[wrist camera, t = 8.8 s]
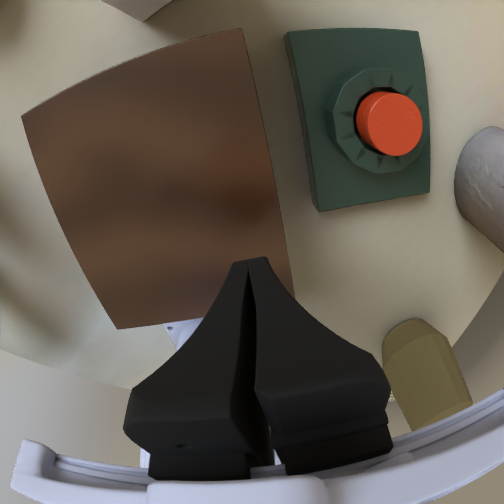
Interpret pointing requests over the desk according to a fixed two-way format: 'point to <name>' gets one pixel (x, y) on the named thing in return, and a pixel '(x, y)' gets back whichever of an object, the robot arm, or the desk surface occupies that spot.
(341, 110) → the button block
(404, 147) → the button
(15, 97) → the desk surface
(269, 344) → the robot arm
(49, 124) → the lid
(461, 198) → the pillar candle
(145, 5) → the medicine bottle
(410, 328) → the squeeze bottle
